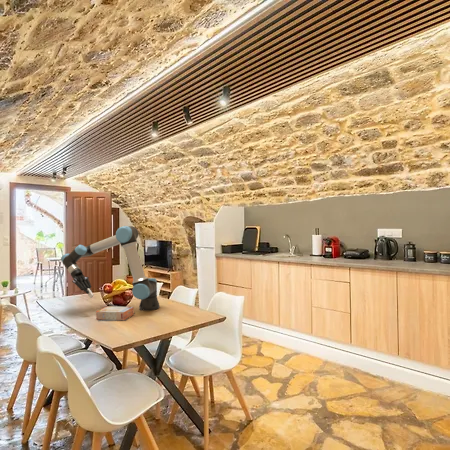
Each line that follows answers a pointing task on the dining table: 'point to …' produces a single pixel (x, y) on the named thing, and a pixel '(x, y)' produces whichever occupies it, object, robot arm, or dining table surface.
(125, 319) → the mat
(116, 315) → the cracker box
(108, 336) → the dining table surface
